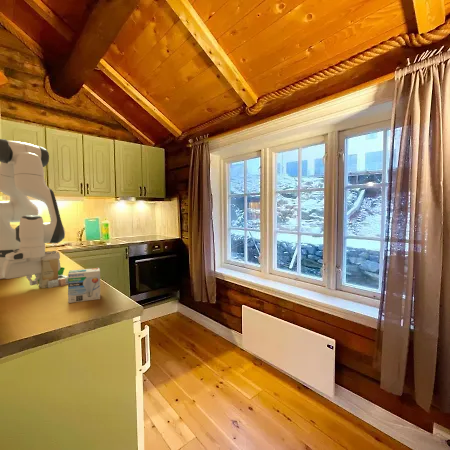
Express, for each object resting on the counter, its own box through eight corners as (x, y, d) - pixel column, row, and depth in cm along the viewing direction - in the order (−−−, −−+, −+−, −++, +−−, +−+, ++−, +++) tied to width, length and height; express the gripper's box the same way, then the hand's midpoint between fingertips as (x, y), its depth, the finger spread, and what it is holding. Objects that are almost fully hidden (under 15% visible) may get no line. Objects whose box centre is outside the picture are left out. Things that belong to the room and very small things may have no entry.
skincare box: (42, 288, 111) (42, 260, 111) (38, 286, 114) (37, 259, 113) (59, 285, 116) (58, 258, 116) (54, 283, 119) (54, 257, 118)
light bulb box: (67, 303, 92) (67, 273, 92) (69, 298, 98) (68, 270, 98) (101, 299, 97) (100, 270, 97) (100, 294, 103) (99, 267, 103)
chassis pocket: (35, 283, 120) (35, 277, 120) (65, 277, 130) (65, 271, 130) (52, 289, 109) (52, 282, 109) (84, 283, 120) (84, 276, 120)
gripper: (56, 249, 121) (57, 278, 121) (0, 255, 104) (1, 289, 105) (62, 250, 117) (63, 280, 118) (5, 256, 101) (6, 291, 101)
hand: (33, 284), depth 111 cm, fingers closed
